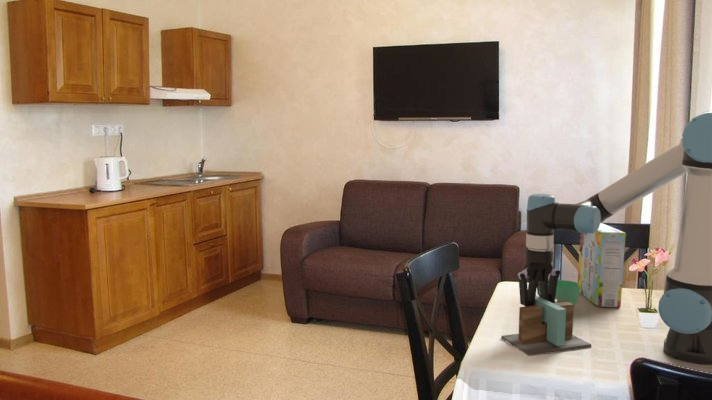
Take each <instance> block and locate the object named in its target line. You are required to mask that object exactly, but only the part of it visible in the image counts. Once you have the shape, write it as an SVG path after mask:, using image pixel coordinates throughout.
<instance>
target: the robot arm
mask: <svg viewBox="0 0 712 400" xmlns="http://www.w3.org/2000/svg"><path fill="white" fill-rule="evenodd" d="M685 174H687V175H686V176H687V177H686V182H685V189H684V190H685V191H684V195H683V204H682V210H681V219H680V225H679V232H678V233H679V234H678V240H677V247H676V253H675V259H674V267H673V268H671V269H670V270H669V271H667V272H666V277H665V283H664V291H663V294H662V296H661V297H660V298H659V301H658V307H657V308H658V314H659V317H660V319H661V320H662V322H663V323H664V324H665V325H666V326H667V327H668V328H669V329H668V331H667V335H666V337H665V338H664V340H663V351H664V352H665V353H666V354H668V355H669V356H671V357H673V358H675V359H678V360H681V361H685V362H689V363H695V364H703V365H705V364H707V365H712V110H708V111H704V112H701V113H699V114H696V115H695V116H694V117H693V118H692V119H690V120H689V121H688V122H687V123H686V125H685V127H684V128H683V132H682V134H681V137H680V141H679V143H677V144H675V145H673V146H672V147H670V148H669V149H667V150H666V151H664V152H662V153H661V154H659V155H658V156H655V157H654V158H653V159H651V160H649V161H647V162H646V163H645V164H643V165H641V166H640V167H638V168H636V169H634V170H633V171H631V172H629V173H628V174H626V175H625V176H623V177H622V178H619V179H618V180H616V181H615V182H614V183H611V184H610V185H608V186H607V187H605V188H603V189H602V190H599V191H598V192H597V193H595V194H594V195H592V196H590V197H588V198H587V199H585V200H583V201H581V202H577V203H559V202H556V197H555V195H553V194H547V193H533V194H530V195H529V196H528V198H527V205H526V206H527V207H526V232H525V233H526V236H525V237H526V238H525V247H526V249H525V267H524V269H523V270H522V271H517V272H516V277H517V279H518V287H519V288H518V289H519V301H520V303H519V304H520V305H523V307H525V306H534V303H535V297H536V296H537V285H538V283H539V285H540V297H541V298H543V299H545V300H547V301H549V302H552V303H555V296H556V289H557V282H558V280H559V277H560V275H561V270H559V269H556V268H554V267H553V264H552V263H553V262H554V250H553V248H554V243H555V242H554V241H555V240H554V238H555V237H554V236H555V231H554V230H556V231H565V232H572V233H573V232H574V233H580V234H581V233H595V232H596V231H597V230H598V228H599V226H600V223H602V224H603V222H605V221H606V220H607V219H610V217H612V216H614V215H615V214H617V213H619V212H620V211H622V210H624V209H626V208H627V207H629V206H631V205H633V204H634V203H637V202H638V201H640V200H641V199H643V198H645V197H647V196H649V195H650V194H652V193H654V192H655V191H657V190H659V189H661V188H663V187H664V186H666V185H667V184H669V183H671V182H674V180H676V179H678V178H679V177H681V176H683V175H685ZM527 278H528V279H527Z"/></svg>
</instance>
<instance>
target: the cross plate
mask: <svg viewBox="0 0 712 400" xmlns="http://www.w3.org/2000/svg"><path fill="white" fill-rule="evenodd" d="M535 305H538V306H540V307H542V322H544V321H545V322H547V340H548V341H549V342H551V343H553V344H555V345H556V346H558V345H565V324H566V309H565V308H562V307H560V306H558V305H556V304H554V303H552V302H549V301H547V300H545V299H543V298H541V297H539V295H536V297H535V303H534V306H535Z"/></svg>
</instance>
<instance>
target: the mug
mask: <svg viewBox="0 0 712 400" xmlns="http://www.w3.org/2000/svg"><path fill="white" fill-rule="evenodd" d="M580 288H581V285H580V284H579V286H578V282H577V281H572V280H565V279H564V280H563V279H562V280H561V279H558V282H557V289H556V296H555V299H557V303H562V302H570V303H572V304H574V309H573V311H574V310H575V308H576V305H577V302H578V298H579V295H580V293H579V292H580ZM536 295H537V296H539V297H540V285H539V283H538V285H537V290H536Z"/></svg>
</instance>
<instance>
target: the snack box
mask: <svg viewBox="0 0 712 400" xmlns="http://www.w3.org/2000/svg"><path fill="white" fill-rule="evenodd" d="M626 236H627V233H626V232H624V231H622V230H620V229H617V228H614V227H613V226H610V225H607V224H606V223H603V222H602V223H600V226H599V228H598V230H597V231H596V232H595V233H580V237H579V251H578V253H579V255H578V270H577V271H578V273H577V284H578V286H579V284H580V285H581V288H580V292H579V294H580V295H582V296H583V297H584V298H586V299H587V300H589V301H590V302H591V303H593V304H594V305H595V306H596V307H598V308H621V306H622V291H623V287H622V286H623V278H624V277H623V276H624V264H625V263H624V262H625V249H626V238H627V237H626Z"/></svg>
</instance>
